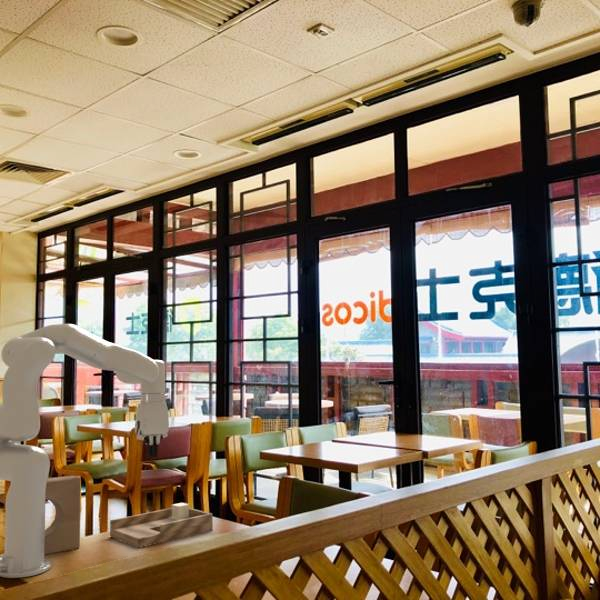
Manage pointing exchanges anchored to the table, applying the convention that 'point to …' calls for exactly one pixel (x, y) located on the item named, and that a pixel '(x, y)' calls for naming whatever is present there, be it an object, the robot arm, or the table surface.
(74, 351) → the robot arm
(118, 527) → the box
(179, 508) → the ivory block
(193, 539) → the table surface
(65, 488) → the decorative block
